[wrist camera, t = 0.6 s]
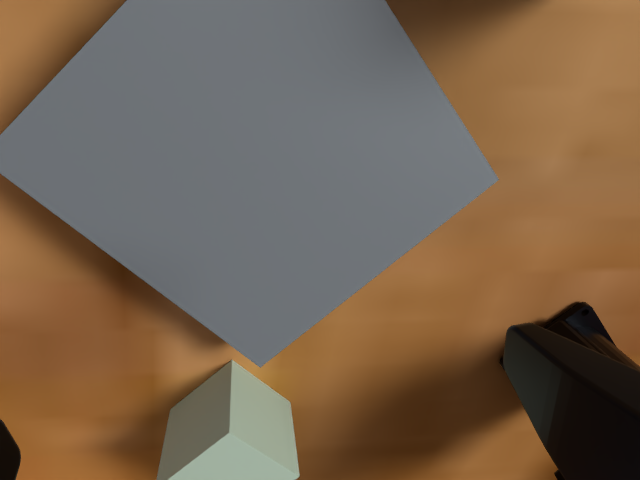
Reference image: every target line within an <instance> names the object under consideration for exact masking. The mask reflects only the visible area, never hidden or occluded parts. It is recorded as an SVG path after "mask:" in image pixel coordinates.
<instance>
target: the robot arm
mask: <svg viewBox="0 0 640 480" xmlns="http://www.w3.org/2000/svg"><path fill="white" fill-rule="evenodd" d="M499 363H500V365H501V366H502V368H503V369H504V370H505V371H506V374H507V376H508V378H509V379H510V381H511V383H512V385H513V387H514V389H515V391H516V393H517V395H518V397H519V399H520V401H521V403H522V405H523V407H524V409H525V411H526V412H527V414H528V416H529V418H530V420H531V422H532V424H533V426H534V428H535V430H536V432H537V434H538V436H539V438H540V439H541V441H542V443H543V445H544V447H545V449H546V450H547V452H548V453H549V455H550V457H551V458H552V460H553V462H554V463H555V465H556V466H557V468H558V470H557V471H556V472H555V473H554V474H555V476H556V478H557V480H640V367H639V366H638V365H637V364H636V363H635V362H633V361H632V360H631V359H630V358H629V357H627V356H626V355H625V354H624V353H623V352H622V351H620V350H619V349H618V348H617V347H616V346H615V344H614V342H613V341H612V339H611V338H610V336H609V334H608V333H607V331H606V329H605V328H604V326H603V324H602V323H601V321H600V320H599V318H598V316H597V315H596V313H595V311H594V310H593V308H592V307H591V306H590V305H588V304H587V303H586V302H581V303H579V304H577V305H576V306H574V307H573V308H571V309H570V310H568V311H567V312H566V313H564V314H563V315H561V316H560V317H558V318H557V319H556V320H554V321H553V322H551V323H550V324H548V325H547V326H546V327H544V328H542V327H540V326H538V325H536V324H533V323H524V324H518V325H513V326H510V327H509V328H508V330H507V333H506V341H505V349H504V356H503V357H502V358H501V359H500V362H499ZM20 461H21V454H20V449H19V447H18V445H17V444H16V442H15V440H14V439H13V437H12V436H11V434H10V432H9V431H8V429H7V427H6V426H5V424H4V422H3V421H2V420H0V480H16V476H17V473H18V469H19V466H20Z"/></svg>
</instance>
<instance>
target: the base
mask: <svg viewBox="0 0 640 480" xmlns="http://www.w3.org/2000/svg"><path fill="white" fill-rule="evenodd" d="M0 174H2V175H3V176H4V177H6V178H7V179H8V180H10V181H11V182H12V183H14V184H15V185H16V186H18V187H19V188H20V189H22V190H23V191H24V192H26V193H27V194H28V195H30V196H31V197H32V198H34V199H35V200H36V201H38V202H39V203H40V204H42V205H43V206H44V207H46V208H47V209H48V210H50V211H51V212H52V213H54V214H55V215H57V216H58V217H59V218H61V219H62V220H63V221H65V222H66V223H67V224H69V225H70V226H71V227H73V228H74V229H75V230H77V231H78V232H79V233H81V234H82V235H83V236H85V237H86V238H87V239H89V240H90V241H91V242H93V243H94V244H95V245H97V246H98V247H99V248H101V249H102V250H103V251H105V252H106V253H107V254H109V255H110V256H111V257H113V258H114V259H115V260H117V261H118V262H119V263H121V264H122V265H124V266H125V267H126V268H128V269H129V270H130V271H132V272H133V273H134V274H136V275H137V276H138V277H140V278H141V279H142V280H144V281H145V282H146V283H148V284H149V285H150V286H152V287H153V288H154V289H156V290H157V291H158V292H160V293H161V294H162V295H164V296H165V297H166V298H168V299H169V300H170V301H172V302H173V303H174V304H176V305H177V306H178V307H180V308H181V309H182V310H184V311H185V312H187V313H188V314H189V315H191V316H192V317H193V318H195V319H196V320H197V321H199V322H200V323H201V324H203V325H204V326H205V327H207V328H208V329H209V330H211V331H212V332H213V333H215V334H216V335H217V336H219V337H220V338H221V339H223V340H224V341H225V342H227V343H228V344H229V345H231V346H232V347H233V348H235V349H236V350H237V351H239V352H240V353H241V354H243V355H244V356H245V357H247V358H248V359H250V360H251V361H252V362H254V363H255V364H256V365H258V366H259V367H261V366H263V365H264V364H265V363H266V362H268V361H269V360H270V359H272V358H273V357H274V356H275V355H277V354H278V353H279V352H280V351H282V350H283V349H284V348H286V347H287V346H288V345H289V344H291V343H292V342H293V341H294V340H296V339H297V338H298V337H300V336H301V335H302V334H303V333H305V332H306V331H307V330H308V329H310V328H311V327H312V326H314V325H315V324H316V323H317V322H319V321H320V320H321V319H322V318H324V317H325V316H326V315H328V314H329V313H330V312H331V311H333V310H334V309H335V308H336V307H338V306H339V305H340V304H342V303H343V302H344V301H345V300H347V299H348V298H349V297H350V296H352V295H353V294H354V293H356V292H357V291H358V290H359V289H361V288H362V287H363V286H364V285H366V284H367V283H368V282H369V281H371V280H372V279H373V278H375V277H376V276H377V275H378V274H380V273H381V272H382V271H383V270H385V269H386V268H387V267H389V266H390V265H391V264H392V263H394V262H395V261H396V260H397V259H399V258H400V257H401V256H403V255H404V254H405V253H406V252H408V251H409V250H410V249H411V248H413V247H414V246H415V245H417V244H418V243H419V242H420V241H422V240H423V239H424V238H425V237H427V236H428V235H429V234H431V233H432V232H433V231H434V230H436V229H437V228H438V227H439V226H441V225H442V224H443V223H445V222H446V221H447V220H448V219H450V218H451V217H452V216H453V215H455V214H456V213H457V212H459V211H460V210H461V209H462V208H464V207H465V206H466V205H467V204H469V203H470V202H471V201H473V200H474V199H475V198H476V197H478V196H479V195H480V194H481V193H483V192H484V191H485V190H486V189H488V188H489V187H490V186H492V185H493V184H494V183H495V182H497V181H498V180H499V179H498V177H497V176H496V174H495V173H494V171H493V170H492V168H491V166H490V165H489V163H488V162H487V160H486V159H485V157H484V155H483V154H482V152H481V151H480V149H479V147H478V146H477V144H476V143H475V141H474V140H473V138H472V136H471V135H470V133H469V132H468V130H467V129H466V127H465V125H464V124H463V122H462V121H461V119H460V118H459V116H458V114H457V113H456V111H455V110H454V108H453V107H452V105H451V103H450V102H449V100H448V99H447V97H446V95H445V94H444V92H443V91H442V89H441V88H440V86H439V84H438V83H437V81H436V80H435V78H434V77H433V75H432V73H431V72H430V70H429V69H428V67H427V66H426V64H425V62H424V61H423V59H422V58H421V56H420V55H419V53H418V51H417V50H416V48H415V47H414V45H413V44H412V42H411V40H410V39H409V37H408V36H407V34H406V32H405V31H404V29H403V28H402V26H401V25H400V23H399V21H398V20H397V18H396V17H395V15H394V14H393V12H392V10H391V9H390V7H389V6H388V4H387V3H386V1H385V0H127V1H126V2H125V3H124V4H123V5H122V6H121V7H120V8H119V9H118V10H117V11H116V12H115V13H114V15H113V16H112V17H111V18H110V19H109V20H108V21H107V22H106V23H105V24H104V25H103V26H102V27H101V28H100V29H99V30H98V32H97V33H96V34H95V35H94V36H93V37H92V38H91V39H90V40H89V41H88V42H87V43H86V44H85V45H84V46H83V48H82V49H81V50H80V51H79V52H78V53H77V54H76V55H75V56H74V57H73V58H72V59H71V60H70V61H69V62H68V63H67V65H66V66H65V67H64V68H63V69H62V70H61V71H60V72H59V73H58V74H57V75H56V76H55V77H54V78H53V79H52V81H51V82H50V83H49V84H48V85H47V86H46V87H45V88H44V89H43V90H42V91H41V92H40V93H39V94H38V95H37V96H36V98H35V99H34V100H33V101H32V102H31V103H30V104H29V105H28V106H27V107H26V108H25V109H24V110H23V111H22V112H21V113H20V115H19V116H18V117H17V118H16V119H15V120H14V121H13V122H12V123H11V124H10V125H9V126H8V127H7V128H6V129H5V131H4V132H3V133H2V134H1V135H0Z"/></svg>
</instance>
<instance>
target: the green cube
mask: <svg viewBox="0 0 640 480" xmlns="http://www.w3.org/2000/svg"><path fill="white" fill-rule="evenodd" d="M298 477H300V474H299V467H298V459H297V451H296V443H295V435H294V427H293V419H292V411H291V403H290V402H289V401H288V400H287V399H285V398H284V397H282V396H281V395H280V394H278V393H277V392H276V391H274V390H273V389H271V388H270V387H269V386H267V385H266V384H265V383H263V382H262V381H260V380H259V379H258V378H256V377H255V376H254V375H252V374H251V373H249V372H248V371H247V370H245V369H244V368H243V367H241V366H240V365H238V364H237V363H236V362H234V361H233V360H231V361H230V362H229V363H227V364H226V365H225V366H224V367H222V368H221V369H220V370H219V371H217V372H216V373H215V374H214V375H212V376H211V377H210V378H209V379H207V380H206V381H205V382H204V383H202V384H201V385H200V386H199V387H197V388H196V389H195V390H194V391H192V392H191V393H190V394H189V395H187V396H186V397H185V398H184V399H183V400H181V401H180V402H179V403H178V404H176V405H175V406H174V407H173V408H171V409H170V413H169V418H168V423H167V429H166V434H165V439H164V444H163V449H162V454H161V459H160V464H159V469H158V475H157V480H295V479H297V478H298Z"/></svg>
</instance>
